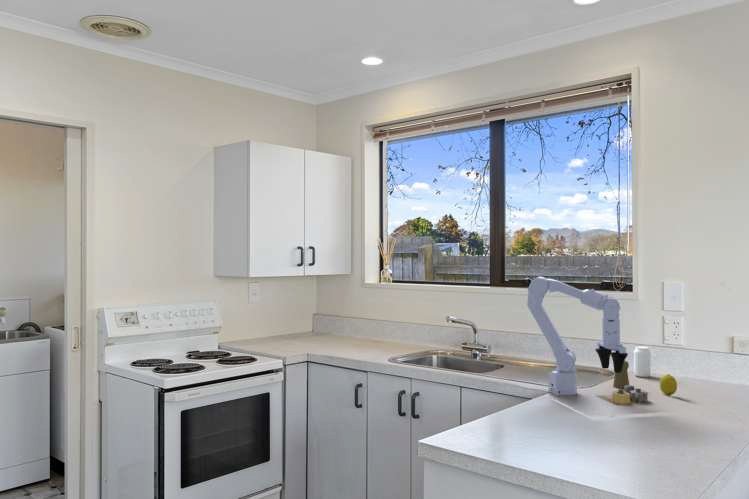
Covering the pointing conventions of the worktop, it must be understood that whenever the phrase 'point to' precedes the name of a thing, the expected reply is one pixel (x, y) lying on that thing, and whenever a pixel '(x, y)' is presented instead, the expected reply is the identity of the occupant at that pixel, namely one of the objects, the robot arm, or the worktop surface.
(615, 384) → the cork
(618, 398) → the gear
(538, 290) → the robot arm
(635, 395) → the gear board
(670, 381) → the lemon
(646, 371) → the beverage can
